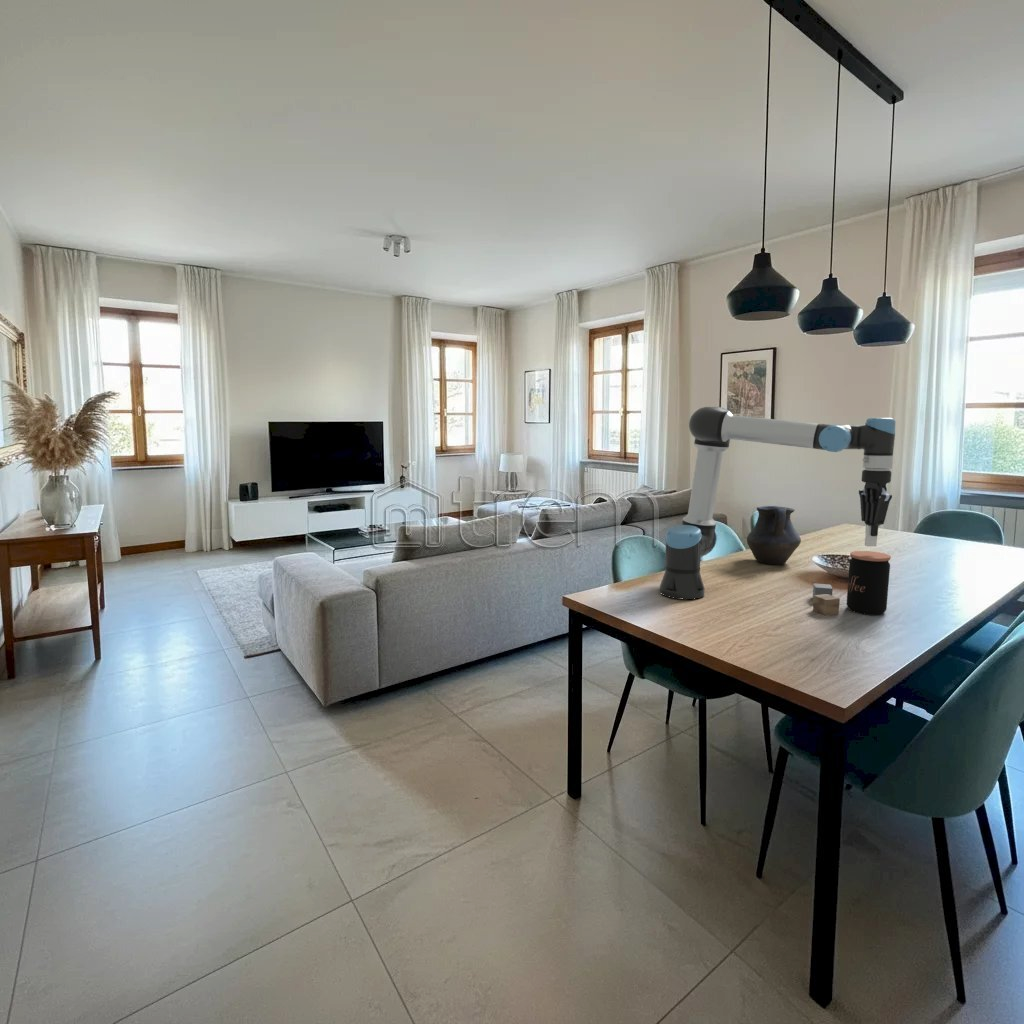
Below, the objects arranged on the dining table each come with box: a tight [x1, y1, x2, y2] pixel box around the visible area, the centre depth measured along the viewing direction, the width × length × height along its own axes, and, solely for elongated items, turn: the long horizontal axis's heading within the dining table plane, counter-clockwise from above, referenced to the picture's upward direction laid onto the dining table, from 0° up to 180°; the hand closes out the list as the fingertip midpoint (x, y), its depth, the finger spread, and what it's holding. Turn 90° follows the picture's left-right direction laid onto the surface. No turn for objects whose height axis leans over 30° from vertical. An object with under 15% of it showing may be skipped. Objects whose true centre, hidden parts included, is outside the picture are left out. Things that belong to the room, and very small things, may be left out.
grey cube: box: [812, 583, 834, 600], centre depth 190 cm, size 5×5×5 cm
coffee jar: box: [846, 550, 892, 616], centre depth 178 cm, size 11×11×18 cm
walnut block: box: [812, 594, 841, 616], centre depth 178 cm, size 5×5×5 cm
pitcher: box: [746, 505, 802, 566], centre depth 240 cm, size 21×22×25 cm
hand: (870, 545), depth 176 cm, fingers closed
